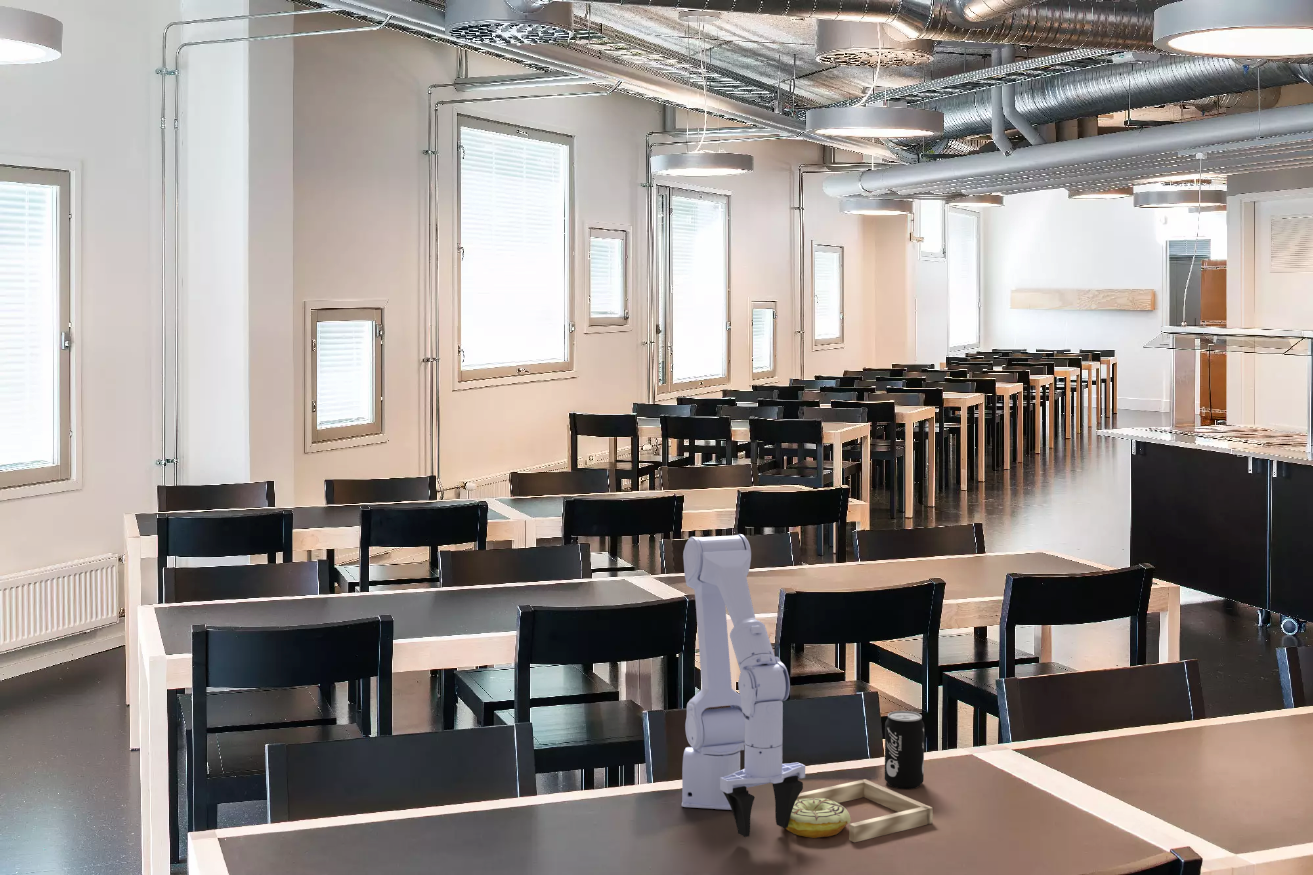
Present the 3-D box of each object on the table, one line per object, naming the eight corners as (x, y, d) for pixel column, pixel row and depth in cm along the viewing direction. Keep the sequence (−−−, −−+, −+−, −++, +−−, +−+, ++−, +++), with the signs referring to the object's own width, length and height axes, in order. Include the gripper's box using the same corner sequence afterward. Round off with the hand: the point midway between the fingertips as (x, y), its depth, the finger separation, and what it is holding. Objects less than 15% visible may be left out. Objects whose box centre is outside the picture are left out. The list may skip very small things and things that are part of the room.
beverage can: (923, 791, 231) (924, 721, 230) (883, 788, 232) (884, 719, 231) (923, 779, 237) (924, 711, 236) (885, 776, 238) (886, 709, 237)
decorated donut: (862, 829, 213) (863, 805, 213) (817, 846, 206) (818, 821, 205) (812, 811, 221) (812, 788, 220) (766, 827, 213) (767, 804, 213)
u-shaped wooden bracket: (854, 842, 207) (854, 826, 207) (789, 810, 221) (789, 795, 221) (932, 823, 215) (932, 807, 215) (864, 793, 229) (865, 779, 229)
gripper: (738, 757, 200) (738, 847, 201) (817, 742, 208) (817, 829, 209) (712, 745, 206) (712, 833, 207) (790, 730, 214) (789, 815, 215)
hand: (763, 830), depth 208 cm, fingers open, 7 cm apart
